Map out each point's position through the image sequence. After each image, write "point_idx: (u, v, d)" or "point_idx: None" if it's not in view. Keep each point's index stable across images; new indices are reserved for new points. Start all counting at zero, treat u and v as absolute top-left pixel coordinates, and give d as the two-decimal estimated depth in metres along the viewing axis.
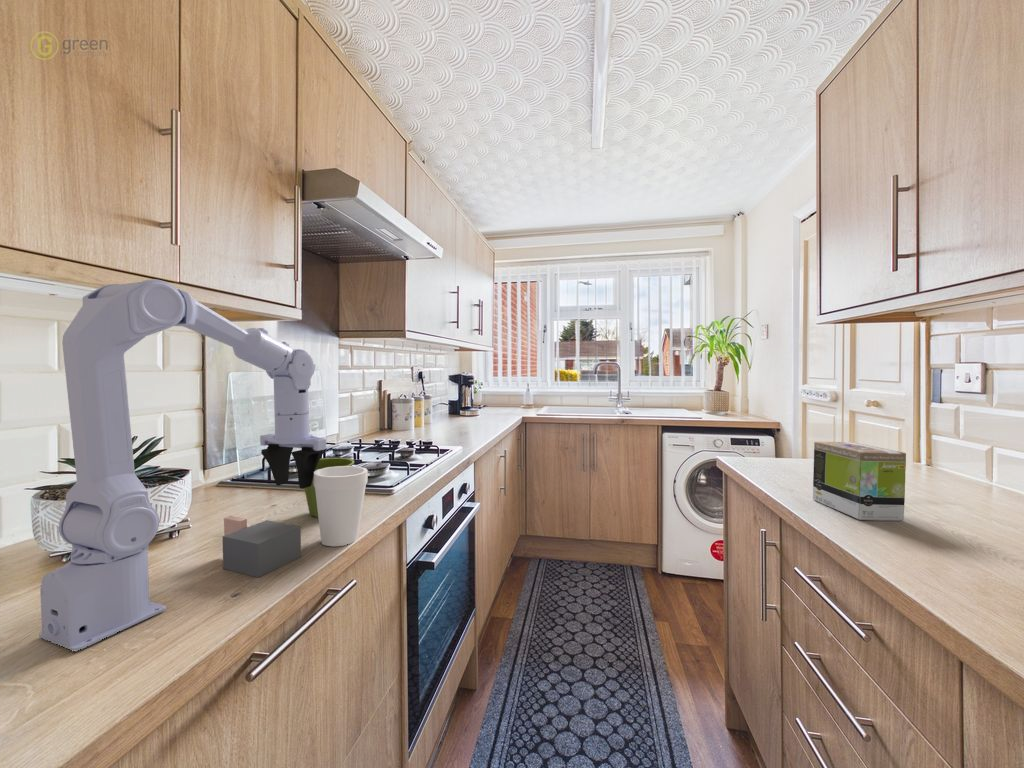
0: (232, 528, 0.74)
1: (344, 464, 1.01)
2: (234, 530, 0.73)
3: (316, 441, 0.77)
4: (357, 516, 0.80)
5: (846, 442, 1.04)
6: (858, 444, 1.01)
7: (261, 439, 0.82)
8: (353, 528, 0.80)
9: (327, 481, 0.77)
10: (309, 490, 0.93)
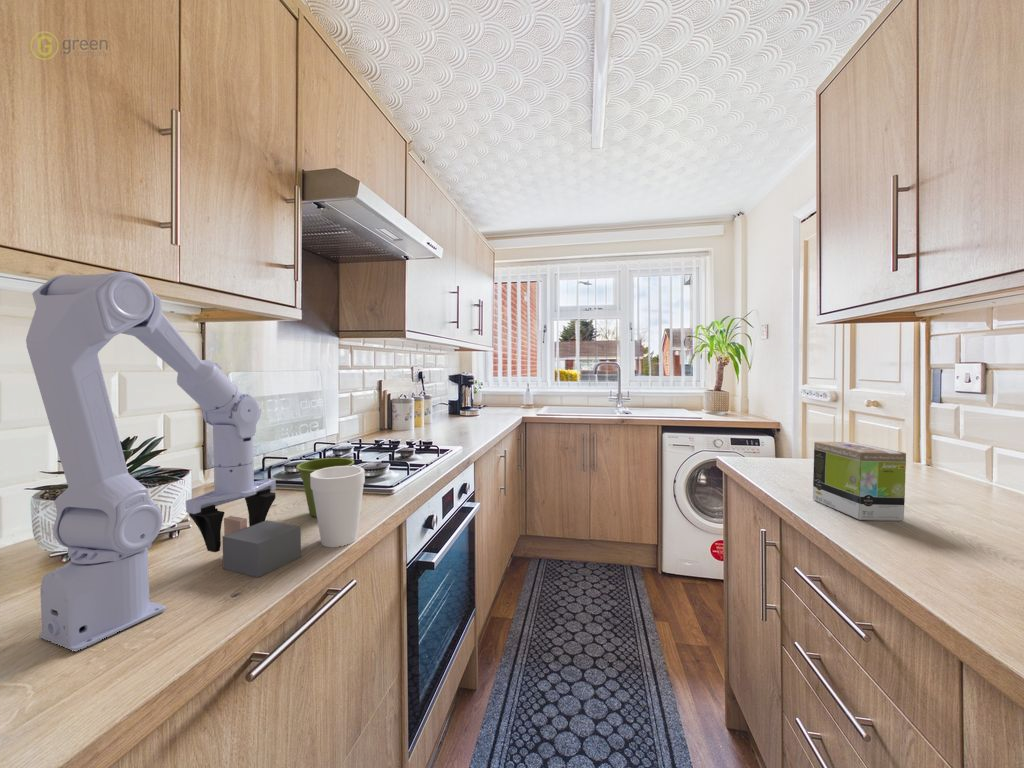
0: (232, 528, 0.74)
1: (344, 464, 1.01)
2: (234, 530, 0.73)
3: None
4: (356, 516, 0.80)
5: (846, 442, 1.04)
6: (858, 444, 1.01)
7: None
8: (352, 528, 0.80)
9: (323, 483, 0.76)
10: (309, 490, 0.93)
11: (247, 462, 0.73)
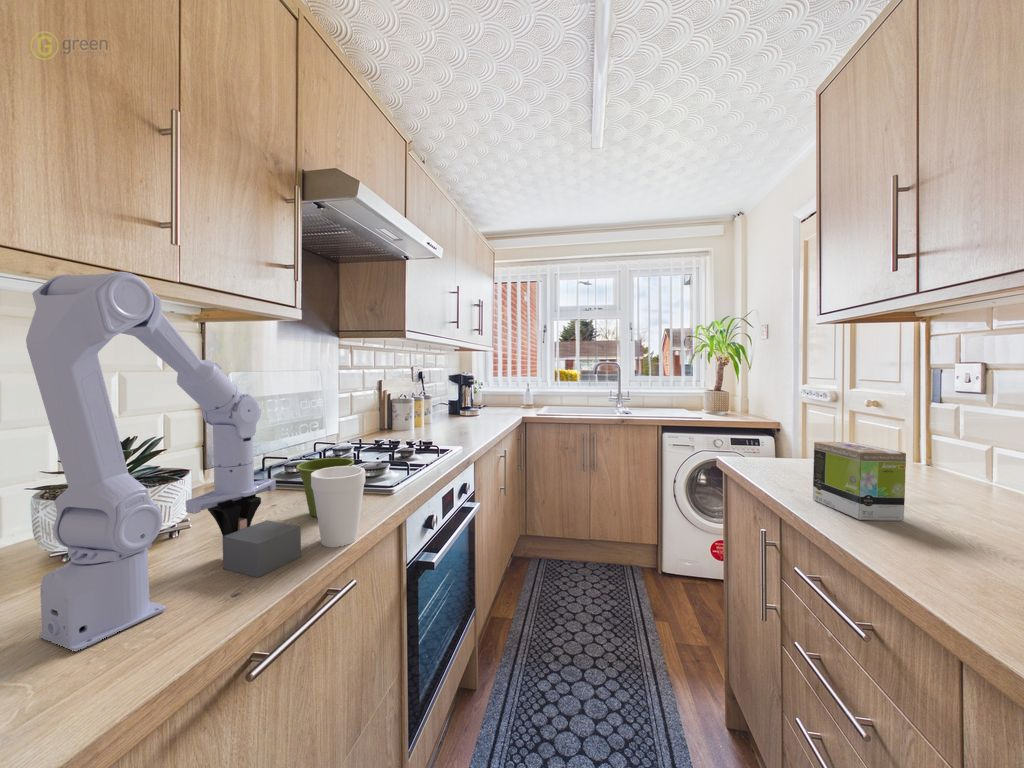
0: None
1: (344, 464, 1.01)
2: None
3: None
4: (356, 516, 0.80)
5: (846, 442, 1.04)
6: (858, 444, 1.01)
7: None
8: (352, 528, 0.80)
9: (324, 483, 0.76)
10: (309, 490, 0.93)
11: (247, 462, 0.73)
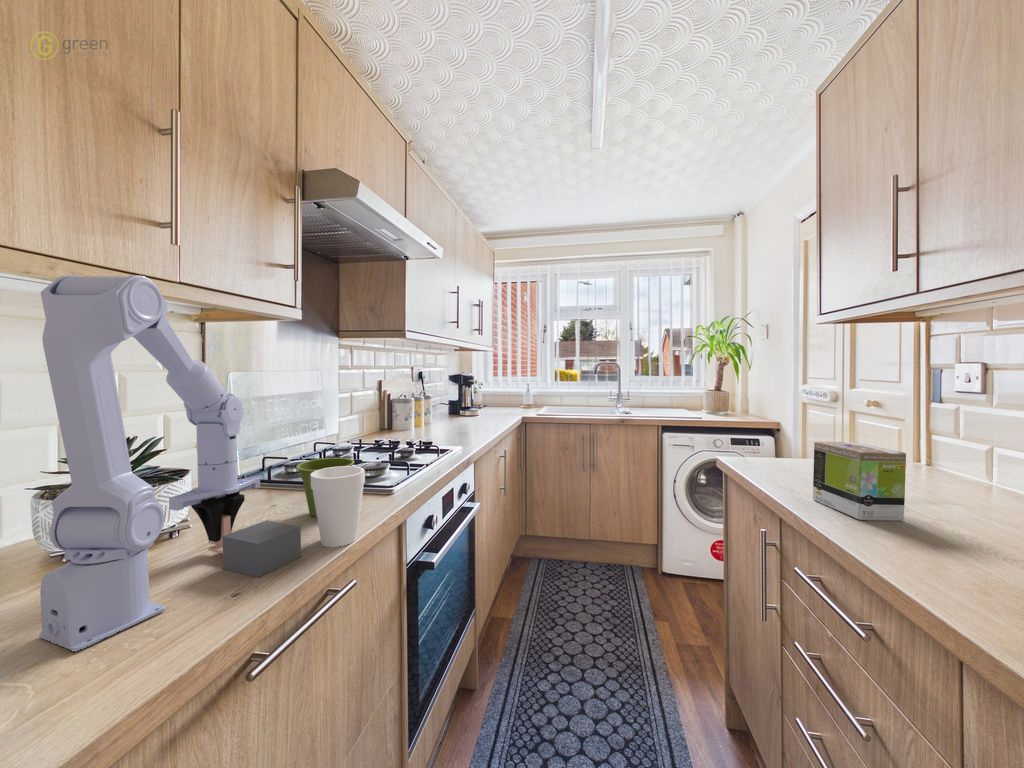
0: None
1: (344, 464, 1.01)
2: None
3: None
4: (355, 516, 0.80)
5: (846, 442, 1.04)
6: (858, 444, 1.01)
7: None
8: (352, 528, 0.80)
9: (323, 483, 0.76)
10: (309, 490, 0.93)
11: (233, 459, 0.75)
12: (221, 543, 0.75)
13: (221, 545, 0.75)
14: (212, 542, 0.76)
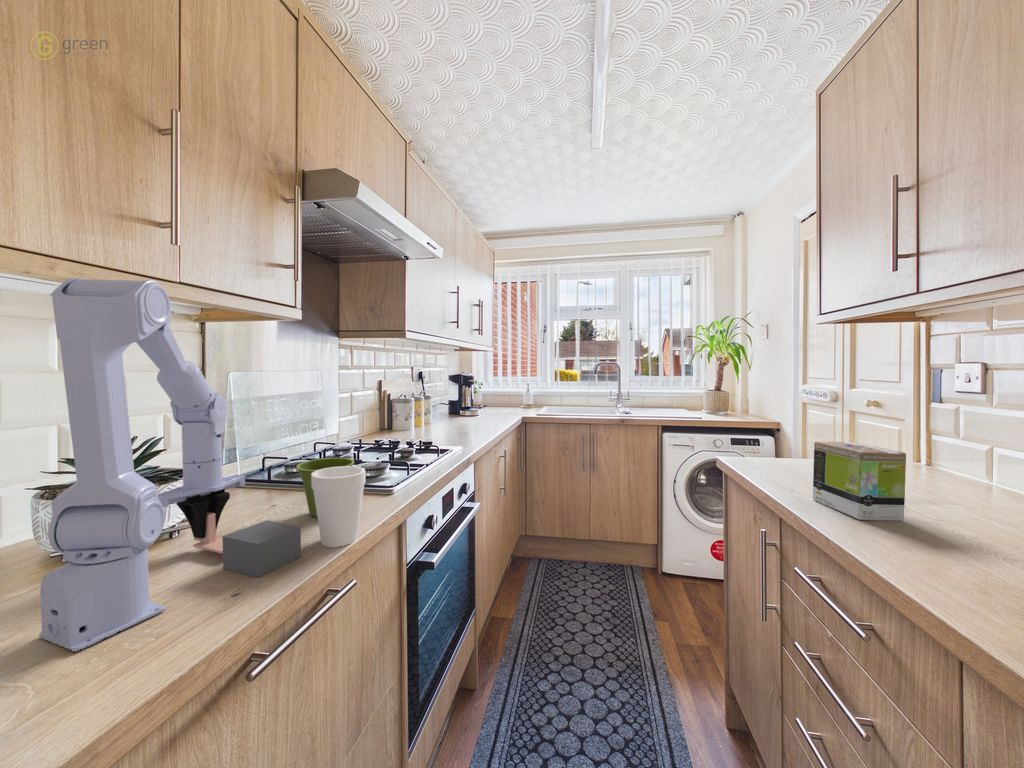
0: None
1: (344, 464, 1.01)
2: None
3: None
4: (356, 516, 0.80)
5: (846, 442, 1.04)
6: (858, 444, 1.01)
7: None
8: (352, 528, 0.80)
9: (324, 482, 0.76)
10: (309, 490, 0.93)
11: (219, 457, 0.77)
12: (206, 540, 0.76)
13: (206, 542, 0.76)
14: (197, 539, 0.77)
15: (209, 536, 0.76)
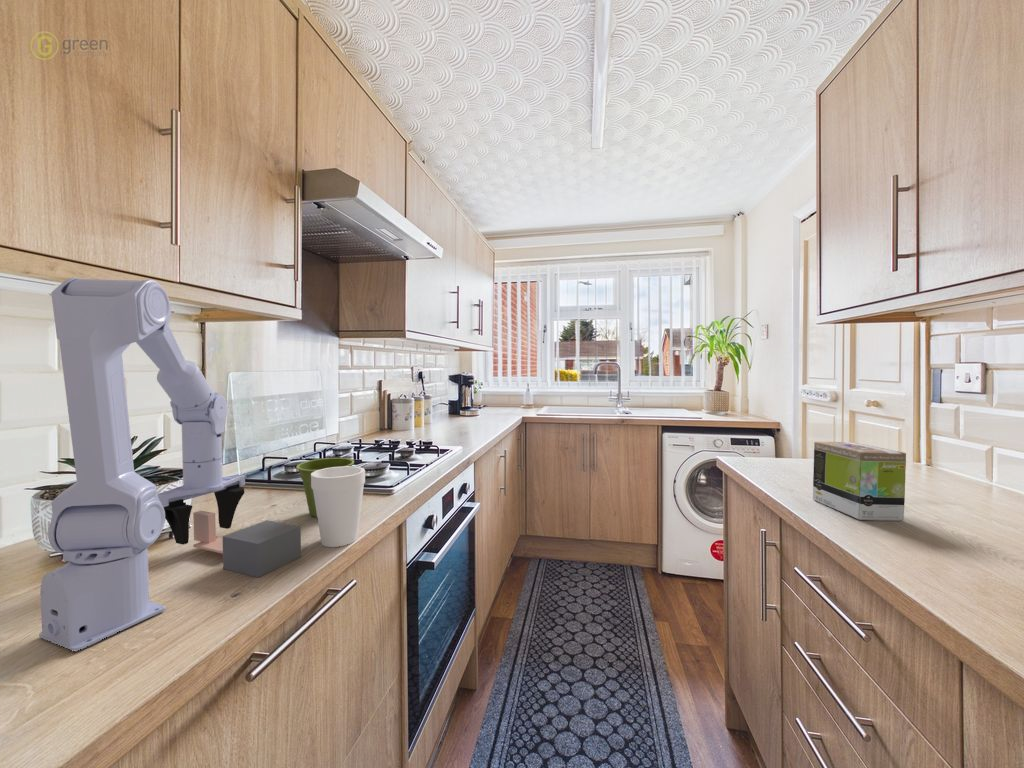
0: (201, 522, 0.77)
1: (344, 464, 1.01)
2: (203, 524, 0.76)
3: None
4: (356, 516, 0.80)
5: (846, 442, 1.04)
6: (858, 444, 1.01)
7: None
8: (352, 528, 0.80)
9: (323, 482, 0.76)
10: (309, 490, 0.93)
11: (219, 457, 0.77)
12: (206, 540, 0.76)
13: (206, 542, 0.76)
14: (197, 539, 0.77)
15: (209, 536, 0.76)
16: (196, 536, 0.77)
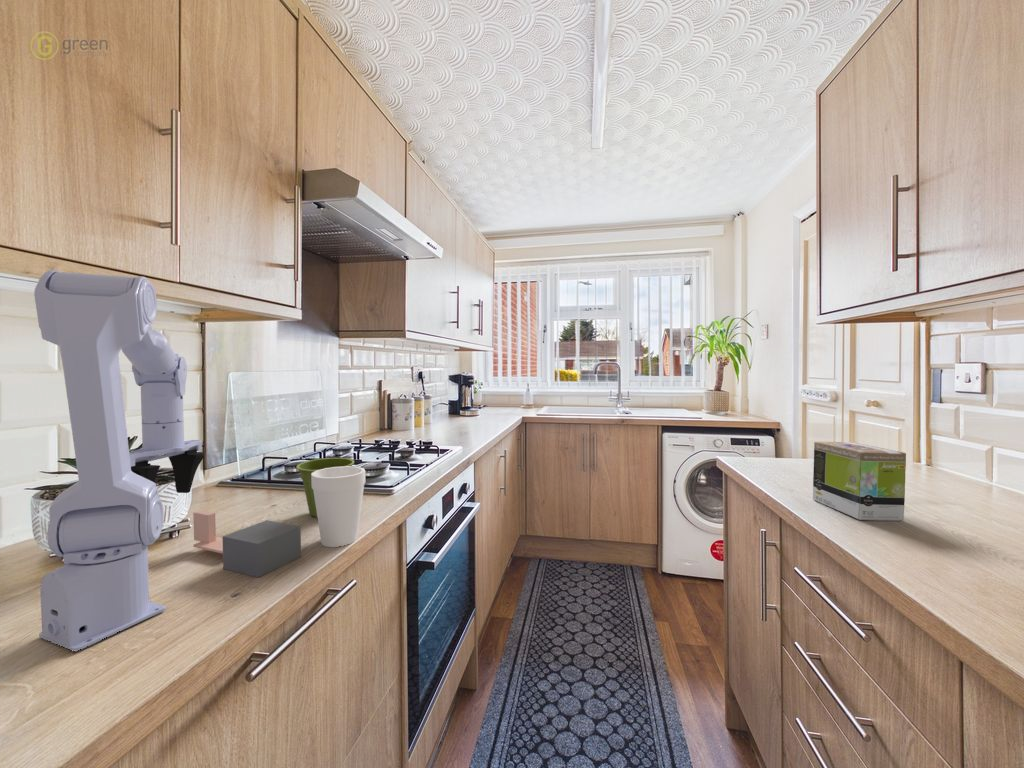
0: (201, 522, 0.77)
1: (344, 464, 1.01)
2: (203, 524, 0.76)
3: None
4: (356, 516, 0.80)
5: (846, 442, 1.04)
6: (858, 444, 1.01)
7: None
8: (352, 528, 0.80)
9: (324, 482, 0.76)
10: (309, 490, 0.93)
11: (182, 419, 0.77)
12: (206, 540, 0.76)
13: (206, 542, 0.76)
14: (197, 539, 0.77)
15: (209, 536, 0.76)
16: (196, 536, 0.77)
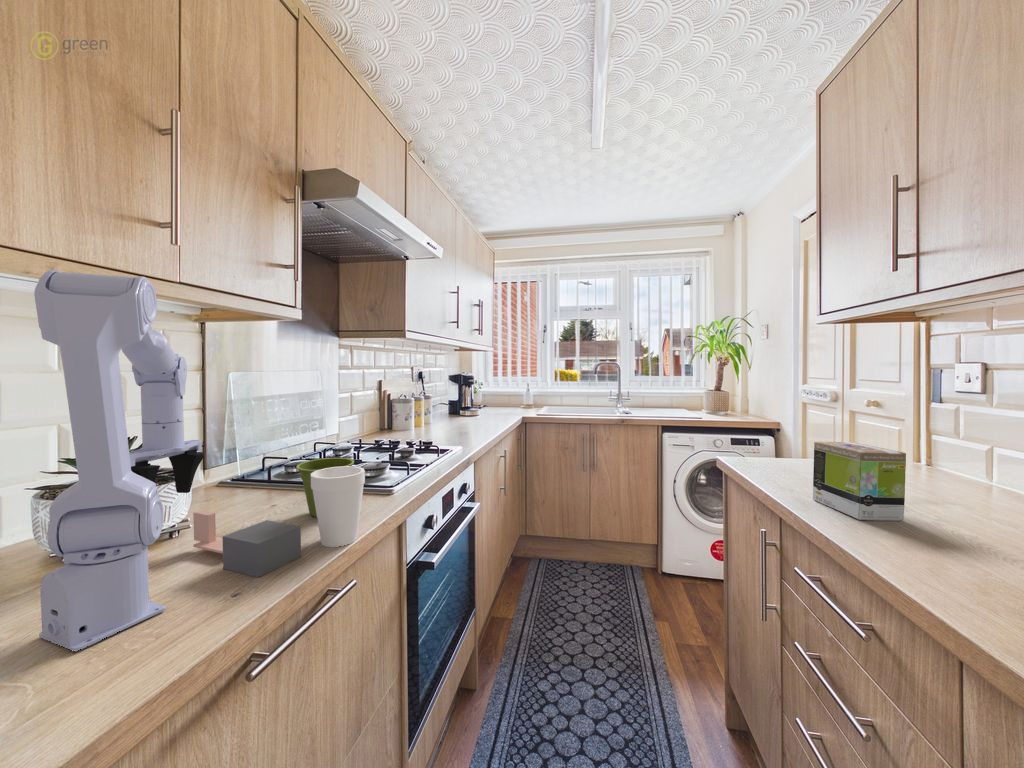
0: (201, 522, 0.77)
1: (344, 464, 1.01)
2: (203, 524, 0.76)
3: None
4: (355, 516, 0.80)
5: (846, 442, 1.04)
6: (858, 444, 1.01)
7: None
8: (352, 528, 0.80)
9: (323, 483, 0.76)
10: (309, 490, 0.93)
11: (182, 419, 0.77)
12: (206, 540, 0.76)
13: (206, 542, 0.76)
14: (197, 539, 0.77)
15: (209, 536, 0.76)
16: (196, 536, 0.77)
